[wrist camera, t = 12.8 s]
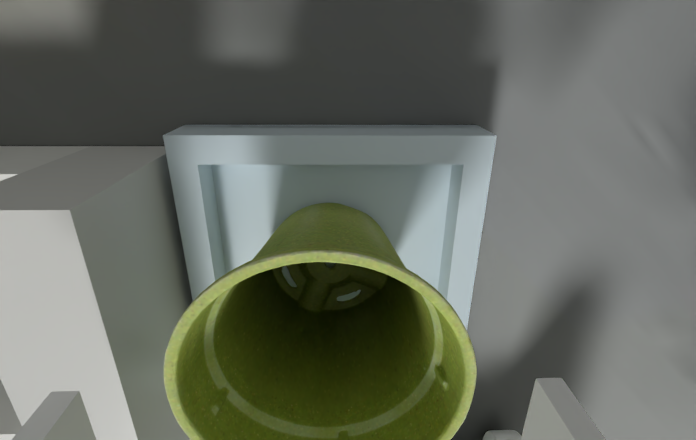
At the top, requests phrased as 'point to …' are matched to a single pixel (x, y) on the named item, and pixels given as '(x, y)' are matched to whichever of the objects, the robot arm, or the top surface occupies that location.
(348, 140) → the tray
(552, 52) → the top surface
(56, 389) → the bay
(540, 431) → the robot arm
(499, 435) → the cable organizer
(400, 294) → the plant pot
